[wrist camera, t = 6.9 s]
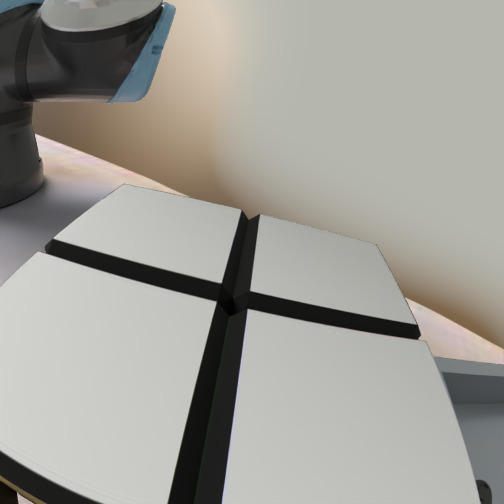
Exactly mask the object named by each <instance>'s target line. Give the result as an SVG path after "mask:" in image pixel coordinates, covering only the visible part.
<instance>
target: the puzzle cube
mask: <svg viewBox="0 0 504 504" xmlns="http://www.w3.org/2000/svg"><path fill="white" fill-rule="evenodd" d="M45 251H46V253H44V252H41V251H37V252H36V253H35V254H34V255H33V256H32V257H31V258H30V259H28V260H27V261H26V262H25V263H24V264H23V265H22V266H21V267H20V268H19V269H18V270H17V271H16V272H14V273H13V274H12V275H11V276H10V277H9V278H8V279H7V280H6V281H5V282H4V283H3V284H2V285H1V286H0V481H2V482H3V483H4V484H6V485H7V486H9V487H10V488H12V489H13V490H15V491H16V492H18V493H19V494H20V495H21V496H23V497H24V498H26V499H27V500H29V501H31V502H32V503H34V504H481V502H480V498H479V493H478V489H477V485H476V481H475V477H474V473H473V469H472V465H471V462H470V458H469V455H468V451H467V448H466V445H465V442H464V438H463V435H462V432H461V429H460V426H459V423H458V420H457V417H456V414H455V412H454V409H453V406H452V403H451V401H450V398H449V395H448V393H447V390H446V387H445V385H444V382H443V380H442V377H441V375H440V372H439V370H438V367H437V365H436V363H435V360H434V358H433V356H432V353H431V351H430V349H429V346H428V344H427V342H426V341H421V340H418V338H419V337H420V336H421V334H420V330H419V327H418V324H417V322H416V320H415V318H414V316H413V314H412V311H411V309H410V307H409V305H408V303H407V301H406V299H405V297H404V295H403V293H402V292H401V290H400V287H399V286H398V284H397V282H396V280H395V278H394V276H393V274H392V272H391V270H390V268H389V266H388V265H387V263H386V261H385V259H384V257H383V256H382V254H381V252H380V250H379V248H378V247H377V245H376V244H373V243H370V242H366V241H362V240H359V239H355V238H351V237H348V236H344V235H340V234H337V233H333V232H329V231H325V230H322V229H318V228H314V227H310V226H306V225H302V224H298V223H294V222H291V221H287V220H282V219H279V218H275V217H271V216H266V215H263V214H259V215H257V216H255V217H254V218H252V219H250V220H248V218H247V217H246V215H245V214H244V212H243V211H242V209H238V208H233V207H229V206H225V205H220V204H216V203H211V202H207V201H203V200H198V199H194V198H189V197H185V196H180V195H176V194H171V193H166V192H162V191H157V190H152V189H147V188H142V187H137V186H133V185H128V184H123V185H121V186H120V187H118V188H117V189H116V190H114V191H113V192H111V193H110V194H109V195H107V196H106V197H105V198H103V199H102V200H101V201H99V202H98V203H96V204H95V205H94V206H92V207H91V208H90V209H89V210H87V211H86V212H85V213H83V214H82V215H81V216H80V217H78V218H77V219H76V220H74V221H73V222H72V223H71V224H69V225H68V226H67V227H66V228H65V229H63V230H62V231H61V232H60V233H58V234H57V235H56V236H55V237H54V238H53V239H52V240H51V241H50V242H49V243H48V244H47V245H46V246H45Z"/></svg>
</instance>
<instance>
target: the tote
mask: <svg viewBox="0 0 504 504" xmlns="http://www.w3.org/2000/svg"><path fill="white" fill-rule="evenodd" d="M433 358H434V360H435V363H436V365H437V367H438V370H439V372H440V375H441V377H442V380H443V382H444V385H445V387H446V390H447V393H448V395H449V398H450V401H451V403H452V406H453V409H454V412H455V414H456V417H457V420H458V423H459V426H460V429H461V432H462V435H463V438H464V442H465V445H466V448H467V451H468V455H469V458H470V462H471V465H472V469H473V473H474V477H475V480H483V481H485V482H486V483H487V484H488V485H489V486H490V489H491V492H492V504H504V365H503V364H492V363H483V362H473V361H465V360H457V359H449V358H442V357H434V356H433Z"/></svg>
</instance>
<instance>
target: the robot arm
mask: <svg viewBox="0 0 504 504" xmlns="http://www.w3.org/2000/svg"><path fill="white" fill-rule="evenodd" d="M162 1H163V0H0V207H4V206H7V205H10V204H12V203H15V202H17V201H20V200H22V199H24V198H26V197H28V196H29V195H31V194H32V193H34V192H35V191H37V190H38V189H39V188H40V187H41V185H42V183H43V162H42V159H41V158H40V157H39V153H38V147H37V142H36V138H35V134H34V130H33V126H32V111H33V102H44V101H45V102H46V101H48V102H49V101H67V102H98V103H107V104H111V103H113V102H136V101H139V100H141V99H142V98H143V97H145V95H146V94H147V92H148V90H149V88H150V86H151V83H152V80H153V77H154V75H155V72H156V69H157V66H158V63H159V60H160V57H161V52H162V50H163V47H164V44H165V41H166V39H167V36H168V34H169V31H170V28H171V25H172V22H173V19H174V15H175V11H176V8H175V7H174V6H173V5H171V4H169V3H167V2H164V3H162ZM475 481H476V485H477V489H478V493H479V498H480V502H481V504H492V492H491V489H490V486H489V485H488V484H487V483H486V482H485V481H483V480H475ZM0 504H18V497H17V492H16V491H15V490H13V489H12V488H10V487H9V486H7V485H6V484H4V483H3V482H2V481H0Z"/></svg>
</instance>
